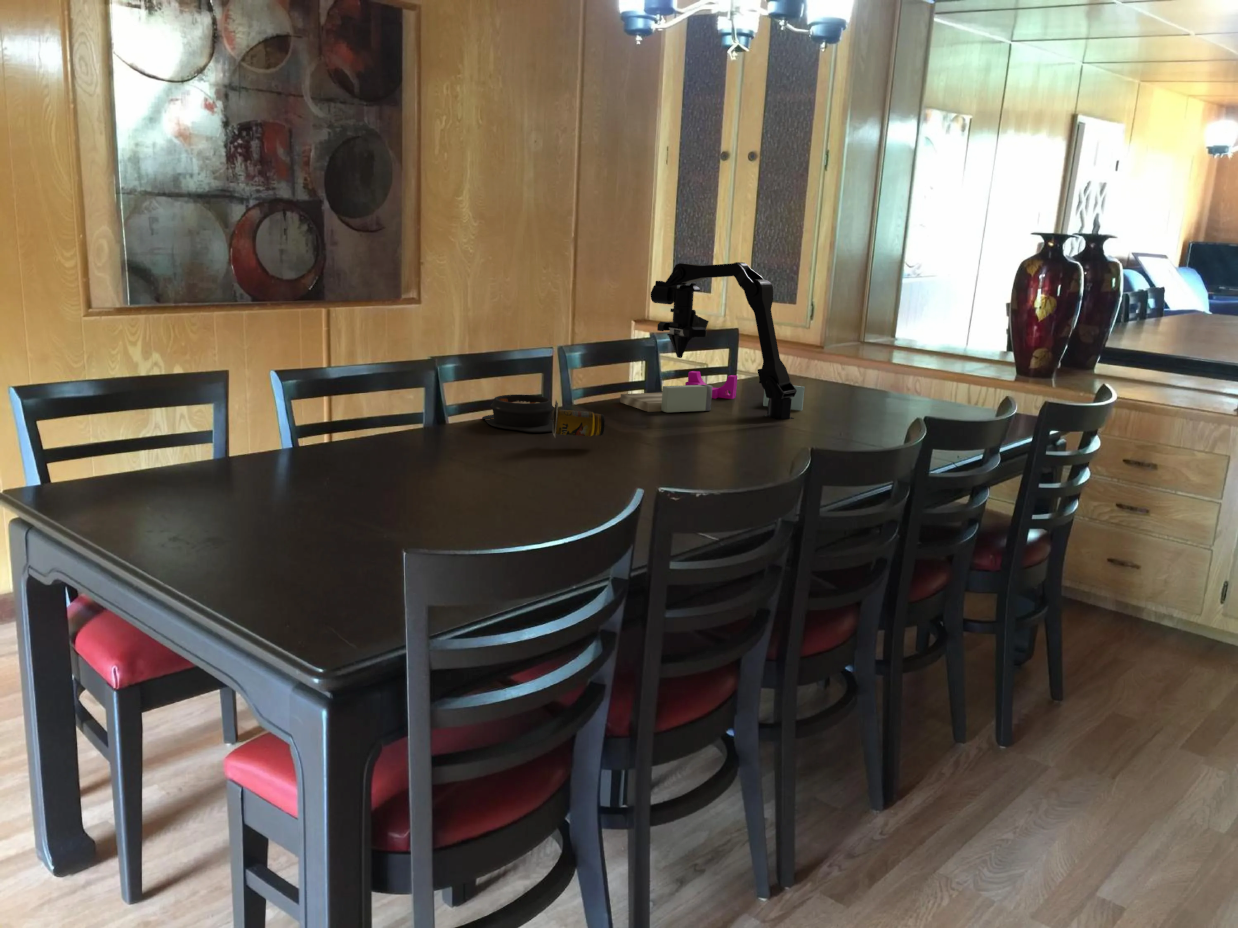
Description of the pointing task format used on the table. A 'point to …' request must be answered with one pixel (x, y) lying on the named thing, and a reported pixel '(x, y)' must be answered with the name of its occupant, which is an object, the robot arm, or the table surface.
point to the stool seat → (643, 401)
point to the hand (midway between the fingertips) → (679, 357)
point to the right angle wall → (796, 400)
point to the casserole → (521, 413)
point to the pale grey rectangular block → (686, 398)
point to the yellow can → (577, 423)
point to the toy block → (720, 392)
